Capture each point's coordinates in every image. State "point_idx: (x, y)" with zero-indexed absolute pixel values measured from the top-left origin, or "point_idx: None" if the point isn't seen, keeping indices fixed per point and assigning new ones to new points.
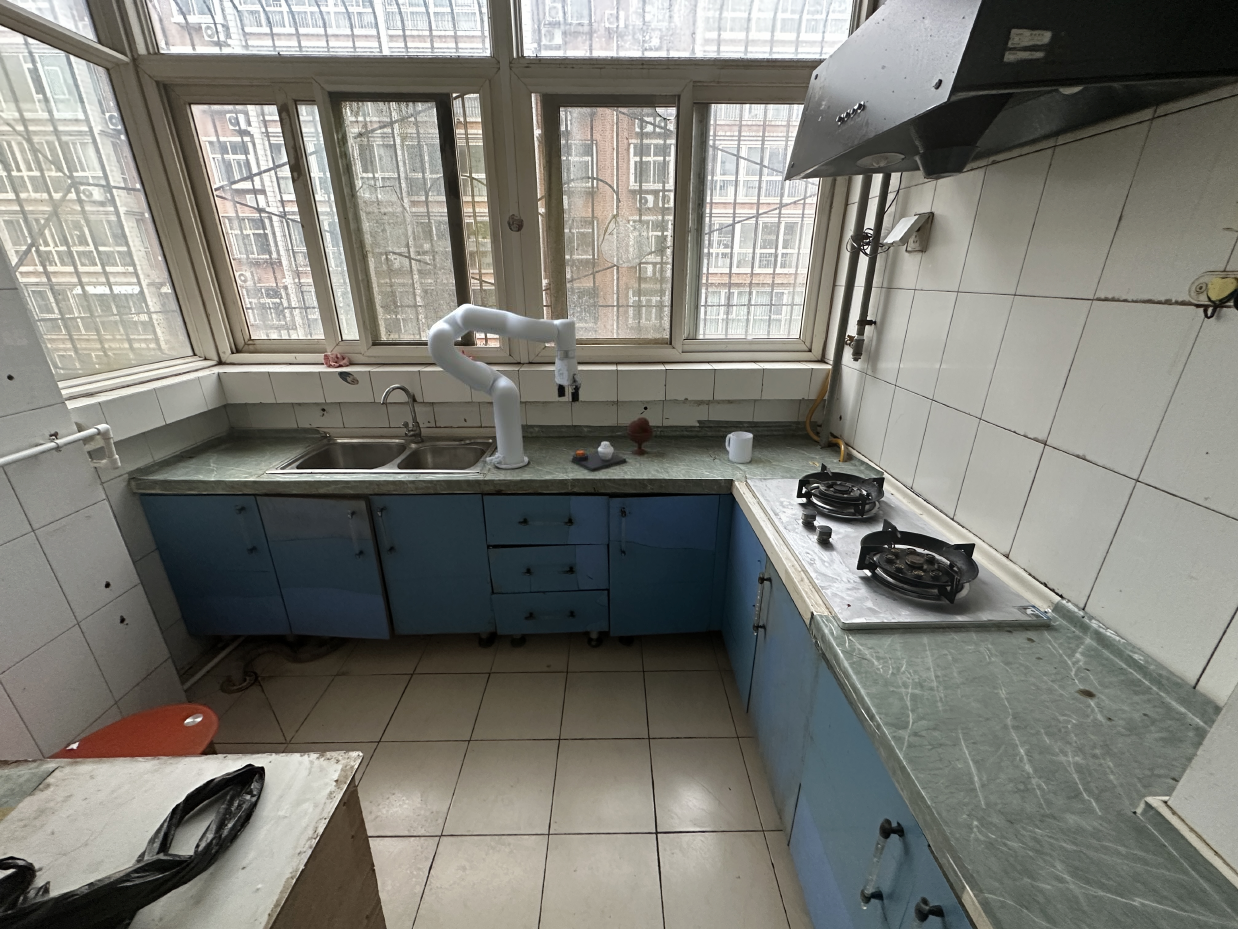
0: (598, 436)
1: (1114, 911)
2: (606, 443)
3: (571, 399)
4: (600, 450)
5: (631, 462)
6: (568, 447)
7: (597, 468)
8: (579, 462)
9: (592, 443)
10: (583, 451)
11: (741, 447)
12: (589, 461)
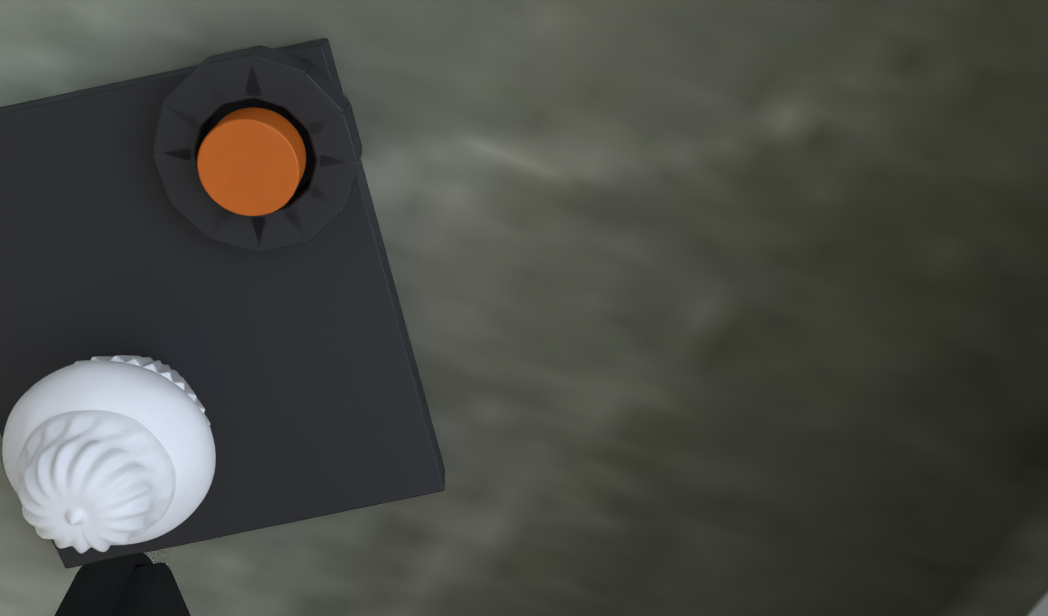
0: (960, 587)
1: None
2: (29, 510)
3: (102, 610)
4: (51, 387)
5: (55, 582)
6: (828, 184)
7: None
8: (136, 83)
9: (793, 463)
10: (236, 211)
11: None
12: (112, 203)
